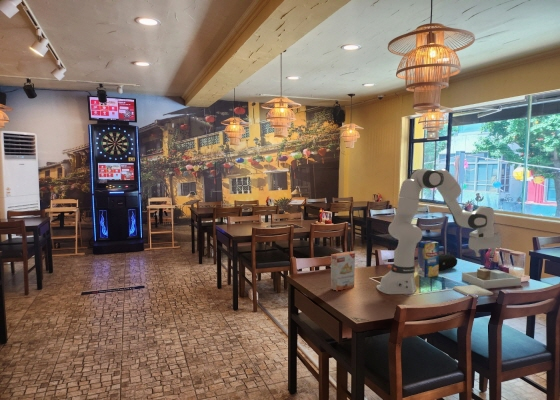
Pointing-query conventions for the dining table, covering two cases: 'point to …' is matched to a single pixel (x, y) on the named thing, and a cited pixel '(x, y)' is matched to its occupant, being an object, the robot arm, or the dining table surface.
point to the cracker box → (342, 270)
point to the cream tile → (472, 290)
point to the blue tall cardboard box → (428, 258)
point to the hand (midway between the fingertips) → (484, 255)
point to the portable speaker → (447, 261)
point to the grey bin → (508, 281)
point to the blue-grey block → (497, 275)
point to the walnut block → (483, 274)
